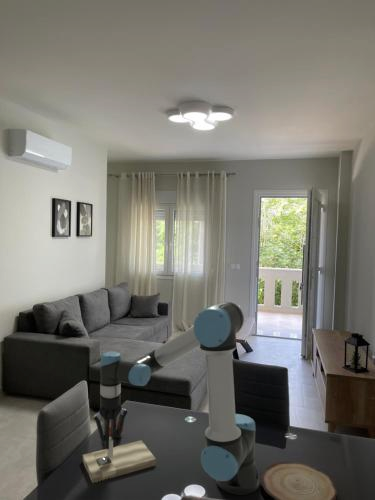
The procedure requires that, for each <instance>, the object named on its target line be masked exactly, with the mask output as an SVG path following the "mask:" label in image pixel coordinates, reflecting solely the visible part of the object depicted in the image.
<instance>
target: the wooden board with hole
mask: <svg viewBox="0 0 375 500" xmlns="http://www.w3.org/2000/svg"><path fill="white" fill-rule="evenodd" d="M101 458H106V459H107V461H108V464H105V465H101V466H99V465H98V461H99V460H100V459H101ZM82 463H83V465H84V467H85V470H86V472H87V474H88V476H89V478H90V481H91V483H92V484H95V483H98V481H99V482H101V480H102V481H106V480H109V479H112V478H117V477H120V476H123V475H126V474H131V473H134V472H138V471H140V470H145V469H147V468H151V467H154V466H155V467H156V465H157V458H156V457H155V456H154V454H153V453H152V452H151V451H150V450H149V448H148V446H146V443H144V442H143V440H142V439H141V440H137V441H132V442H128V443H125V444H121V445H116V446H115V447H113V458H109V457H108V455H107V449H106V448H105V449H101V450H97V451H92V452H89V453H88V452H87V453H84V454H82ZM108 478H109V479H108ZM105 479H106V480H105ZM94 482H95V483H94Z"/></svg>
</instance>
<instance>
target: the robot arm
mask: <svg viewBox="0 0 375 500" xmlns="http://www.w3.org/2000/svg"><path fill="white" fill-rule="evenodd" d="M244 322H245V317H244V312H243V310H242V309H241V307H239V305H237V304H236V303H233V302H231V301H221V302H218V303H216V304H214V305H212V306H207V307H205V308H204V309H203V310H201V311H200V312H199V313H198V314H197V315H196V317H195V319H194V322H193V326H192V327H189V328H188V329H186V330H185V331H184V332H182V333H180V334H179V335H177V336H175V337H174V338H172V339H170V340H169V341H167V342H165V343H164V344H162V345H161V346H159V347H157V348H156V349H154V350H152V351H150V352H149V353H146V354H145V355H144V356H141V357H139V358H137V359H135V360H133V361H128V360H124V359H122V356H121V353H119V352H118V351H107V352H104V353H102V354H101V355H100V363H99V368H100V369H99V371H100V372H99V373H100V374H99V375H100V383H99V385H100V386H99V387H100V388H99V389H100V391H99V396H100V397H99V409H98V412H97V413H94V414H93V415H92V419H93V420H94V421H95V423H96V427H97V431H98V435H99V438H100V440H101V441H102V442H103V441H104V448H105V449H107V455H108V457H109V458H113V447H116V446H117V444H116V441H117V439H118V438H119V437H120V436H121V435H122V433H121V431H122V427H123V428H124V426H123V423H124V424H125V418H126V416H127V414H128V410H127V409H126V408H124V407H122V405H121V403H122V402H121V392H122V387H121V383H125V384H128V385H129V384H130V385H133V386H137V387H138V386H139V387H144V386H146V385H147V384H148V382H150V379H151V376H152V375H153V374H155V373H156V372H159V371H160V370H162V369H164V368H166V367H167V366H168V365H170V364H172V363H174V362H176V361H177V360H179V359H181V358H183V357H185V356H187V355H188V354H190V353H192V352H193V351H195V350H197V349H199V348H200V350H201V351H202V352H203V353H204V354H205V370H206V371H205V372H206V388H207V391H206V392H207V406H208V409H207V410H208V423H209V426H208V427H207V428H206V429H205V431H204V436H205V437H204V438H205V439H204V440H205V447H204V449H203V450H202V452H201V455H200V463H201V466H202V468H203V470H204V472H205V473H207V474H208V476H209V477H211V478H212V479H214V480H216V481H215V482H216V484H217V486H218V487H219V488H220V489H221V490H223V492H226V493H229V494H232V495H237V496H244V495H245V496H246V495H249V494H252V493H254V492H256V491H257V490H258V489H259V486H260V474H259V470H258V467H257V465H256V462H255V458H256V455H255V451H256V430H257V429H256V422H255V419H253V418H251V417H250V416H248V415H245V414H240V413H236V403H235V401H236V400H235V384H234V383H235V382H234V366H233V353H234V351H235V350H236V349H237V333H238V332H239V333H240V330H242V328H243V325H244ZM101 417H102V418H103V421H104V422H103V423H104V427H103V426H102V423H101ZM117 418H118V419H117ZM117 420H118V424H117V429H116V421H117ZM109 423H111V437H109ZM103 428H104V429H103ZM121 437H122V436H121Z"/></svg>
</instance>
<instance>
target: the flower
mask: <svg viewBox="0 0 375 500" xmlns="http://www.w3.org/2000/svg"><path fill="white" fill-rule="evenodd" d="M118 420H119V419H117V421H116V429H117V424H118ZM124 424H125V422H124V423H123V427H122V431H121V434H122V433H123V432H124V430H125V428H124ZM109 437H111V422H110V423H109ZM118 438H119V439H121V438H123V437H122V436H120V437H118Z"/></svg>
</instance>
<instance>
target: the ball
mask: <svg viewBox="0 0 375 500" xmlns="http://www.w3.org/2000/svg"><path fill="white" fill-rule="evenodd" d="M105 464H109V463H108V461H107V459H106V458H101V459H100V460H99V461H98V466H101V465H105Z"/></svg>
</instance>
